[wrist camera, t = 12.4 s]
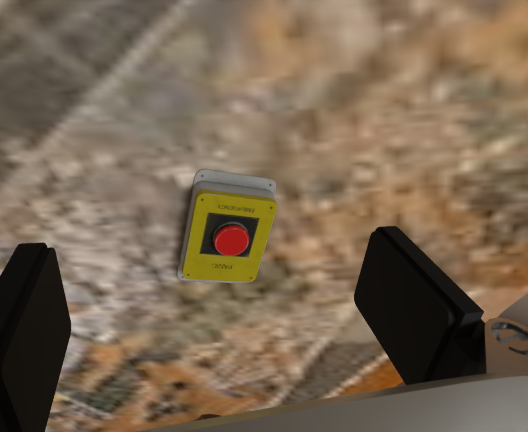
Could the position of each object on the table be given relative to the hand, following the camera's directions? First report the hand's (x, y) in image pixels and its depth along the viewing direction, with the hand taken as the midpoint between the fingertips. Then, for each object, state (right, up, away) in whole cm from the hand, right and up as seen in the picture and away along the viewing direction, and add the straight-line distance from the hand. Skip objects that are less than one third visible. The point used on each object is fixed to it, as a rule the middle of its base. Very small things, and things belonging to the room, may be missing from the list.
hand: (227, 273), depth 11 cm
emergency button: (-4, 0, +33) cm, 34 cm away
